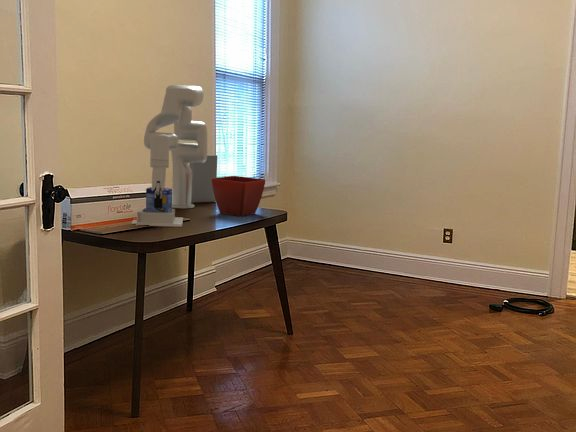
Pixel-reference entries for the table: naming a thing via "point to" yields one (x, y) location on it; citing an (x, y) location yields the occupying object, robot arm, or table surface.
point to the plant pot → (237, 194)
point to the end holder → (157, 219)
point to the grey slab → (203, 179)
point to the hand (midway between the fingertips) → (158, 206)
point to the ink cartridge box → (165, 201)
